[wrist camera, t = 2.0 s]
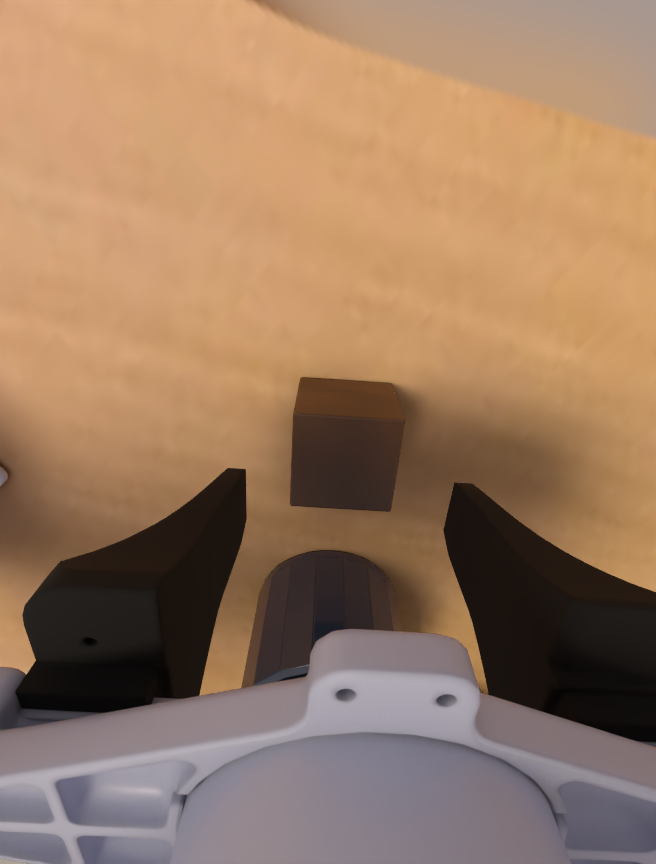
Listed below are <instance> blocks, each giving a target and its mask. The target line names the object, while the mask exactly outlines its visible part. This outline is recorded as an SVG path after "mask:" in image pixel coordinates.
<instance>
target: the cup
mask: <svg viewBox="0 0 656 864" xmlns="http://www.w3.org/2000/svg"><path fill="white" fill-rule="evenodd" d="M345 629H366V630H383V631H401V632H402V627H401V621H400V615H399V609H398V603H397V597H396V595H395V591H394V588H393V585H392V583H391V582H390V580H389V578H388V577H387V576H386V575H385V574H384V572H383V571H382V570H380V569H379V568H378V567H377V566H376V565H374V564H373V563H371V562H369V561H368V560H366V559H364V558H361V557H359V556H356V555H353V554H349V553H345V552H339V551H315V552H309V553H305V554H301V555H298V556H295V557H293V558H290V559H288V560H287V561H285V562H283V563H281V564H280V565H279V566H277V567H276V568H275V569H274V570H273V571H272V572H271V573H270V574H269V575H268V577H267V578H266V579H265V581H264V583H263V585H262V587H261V590H260V594H259V599H258V604H257V610H256V615H255V620H254V625H253V630H252V635H251V640H250V646H249V651H248V656H247V661H246V666H245V671H244V677H243V682H242V687H241V688H246V687H251V686H257V685H263V684H268V683H274V682H279V681H285V680H290V679H296V678H302V677H305V676H307V674H308V671H309V666H310V653H311V651H312V649H313V647H314V645H315V643H316V641H317V640H319V639H320V638H322V637H324V636H325V635H327V634H329V633H330V632H332V631H337V630H345Z"/></svg>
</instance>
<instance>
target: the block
mask: <svg viewBox="0 0 656 864" xmlns="http://www.w3.org/2000/svg"><path fill="white" fill-rule="evenodd" d="M404 424H405V420H404V418H403V415H402V412H401V409H400V406H399V404H398V401H397V398H396V395H395V393H394V390H393V387H392V384H391V383H378V382H363V381H348V380H333V379H318V378H303V377H302V378H300V383H299V388H298V393H297V398H296V403H295V408H294V413H293V433H292V462H291V491H290V505H291V506H303V507H320V508H337V509H353V510H370V511H387V512H390V511H391V506H392V500H393V494H394V487H395V481H396V475H397V468H398V462H399V456H400V449H401V443H402V437H403V431H404Z"/></svg>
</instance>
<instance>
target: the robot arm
mask: <svg viewBox="0 0 656 864" xmlns="http://www.w3.org/2000/svg"><path fill="white" fill-rule="evenodd" d="M7 479H8V475H7V472H6V471H5V470H4V469H3V468H2V467H0V486H1V485H2V484H3V483H4V482H6V480H7ZM246 518H247V516H246V469H234V468H227V469H226V470H225V471H224V472H223V473H222V474H220V475H219V476H218V477H217V478H216V479H215V480H214V481H213V482H212V483H210V484H209V485H208V486H207V487H206V488H205V489H204V490H202V491H201V492H200V493H199V494H198V495H196V496H195V497H194V498H193V499H192V500H190V501H189V502H188V503H186V504H185V505H184V506H182V507H181V508H180V509H178V510H177V511H175V512H174V513H172V514H171V515H169V516H168V517H166V518H165V519H163V520H161V521H160V522H158V523H156V524H154V525H153V526H151V527H149V528H147V529H145V530H143V531H141V532H139V533H137V534H135V535H133V536H131V537H129V538H127V539H124V540H122V541H120V542H117V543H115V544H112V545H110V546H107V547H104V548H102V549H99V550H96V551H93V552H90V553H87V554H84V555H80V556H77V557H74V558H71V559H67V560H64V561H61V562H60V563H59V564H58V565H57V566H56V567H55V568H54V569H53V570H52V572H51V573H50V574H49V575H48V576H47V578H46V579H45V580H44V582H43V583H42V584H41V585H40V587H39V588H38V589H37V591H36V592H35V593H34V594H33V596H32V597H31V598H30V599H29V601H28V602H27V603H26V605H25V607H24V611H23V621H24V626H25V629H26V632H27V635H28V638H29V641H30V644H31V647H32V650H33V653H34V656H35V659H36V662H35V663H34V665H33V666H32V667H31V669H30V670H29V672H28V673H27V675H26V674H25V673H24V672H22V671H20V670H19V669H15V668H11V667H0V859H4V860H9V861H15V862H21V863H27V864H656V592H653V591H651V590H648V589H645V588H642V587H639V586H637V585H634V584H631V583H629V582H626V581H624V580H622V579H619V578H617V577H615V576H612V575H610V574H608V573H605V572H603V571H601V570H599V569H597V568H595V567H593V566H591V565H589V564H587V563H585V562H583V561H581V560H579V559H577V558H575V557H573V556H571V555H570V554H568V553H566V552H564V551H563V550H561V549H559V548H558V547H556V546H554V545H553V544H551V543H550V542H548V541H546V540H545V539H543V538H542V537H540V536H539V535H537V534H536V533H534V532H533V531H532V530H530V529H529V528H527V527H526V526H525V525H523V524H522V523H521V522H519V521H518V520H517V519H515V518H514V517H513V516H512V515H510V514H509V513H508V512H507V511H505V510H504V509H503V508H502V507H500V506H499V505H498V504H497V503H496V502H494V501H493V500H492V499H491V498H490V497H488V496H487V495H486V494H485V493H484V492H482V491H481V490H480V489H479V488H477V487H476V486H475V485H473V484H470V483H454V486H453V491H452V495H451V500H450V504H449V508H448V513H447V517H446V521H445V526H444V535H445V540H446V545H447V550H448V554H449V558H450V561H451V563H452V566H453V569H454V572H455V575H456V577H457V580H458V583H459V585H460V588H461V591H462V594H463V596H464V599H465V602H466V604H467V607H468V610H469V613H470V616H471V619H472V622H473V626H474V630H475V634H476V638H477V642H478V646H479V651H480V655H481V660H482V664H483V669H484V673H485V678H486V683H487V688H488V693H489V695H487V694H484V693H481V692H480V690H479V687H478V684H477V681H476V677H475V674H474V671H473V668H472V664H471V661H470V658H469V655H468V651H467V649H466V648H465V647H464V646H463V645H462V644H461V643H460V642H458V641H457V640H456V639H455V638H451V637H447V636H444V635H440V634H436V633H418V632H401V631H383V630H366V629H345V630H337V631H332V632H330V633H329V634H327V635H325V636H324V637H322V638H320V639H319V640H317V641H316V643H315V645H314V647H313V649H312V651H311V653H310V666H309V671H308V674H307V676H305V677H302V678H296V679H290V680H285V681H279V682H274V683H268V684H263V685H257V686H251V687H246V688H240V689H235V690H229V691H224V692H218V693H212V694H207V695H201V696H199V694H200V689H201V684H202V679H203V675H204V670H205V665H206V661H207V656H208V652H209V647H210V643H211V638H212V634H213V630H214V626H215V622H216V617H217V613H218V609H219V606H220V602H221V599H222V596H223V593H224V590H225V588H226V585H227V582H228V579H229V576H230V574H231V571H232V568H233V565H234V562H235V560H236V557H237V554H238V551H239V548H240V545H241V542H242V537H243V533H244V528H245V523H246Z"/></svg>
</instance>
